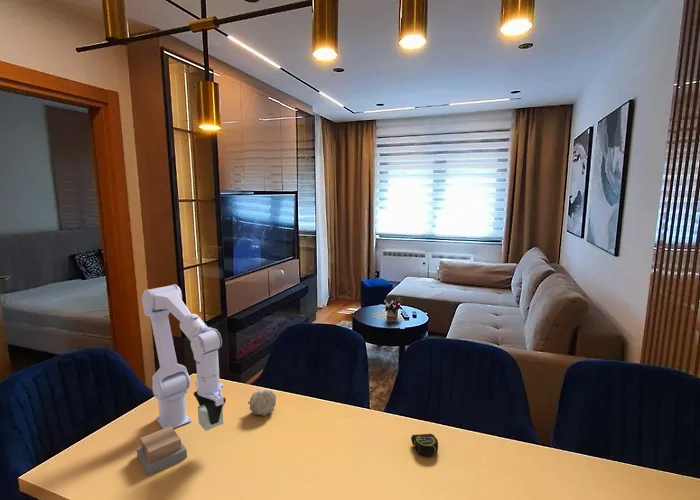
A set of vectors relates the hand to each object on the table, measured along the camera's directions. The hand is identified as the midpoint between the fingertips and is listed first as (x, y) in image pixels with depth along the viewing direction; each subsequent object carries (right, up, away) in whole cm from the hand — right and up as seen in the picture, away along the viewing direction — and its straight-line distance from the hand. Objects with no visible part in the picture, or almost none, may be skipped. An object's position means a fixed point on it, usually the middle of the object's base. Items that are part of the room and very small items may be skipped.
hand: (210, 418), depth 105 cm
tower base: (-13, -10, -2) cm, 16 cm away
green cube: (0, -1, 0) cm, 2 cm away
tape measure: (+61, -10, +1) cm, 62 cm away
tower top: (-13, -7, -2) cm, 15 cm away
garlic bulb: (+10, -7, +19) cm, 23 cm away
